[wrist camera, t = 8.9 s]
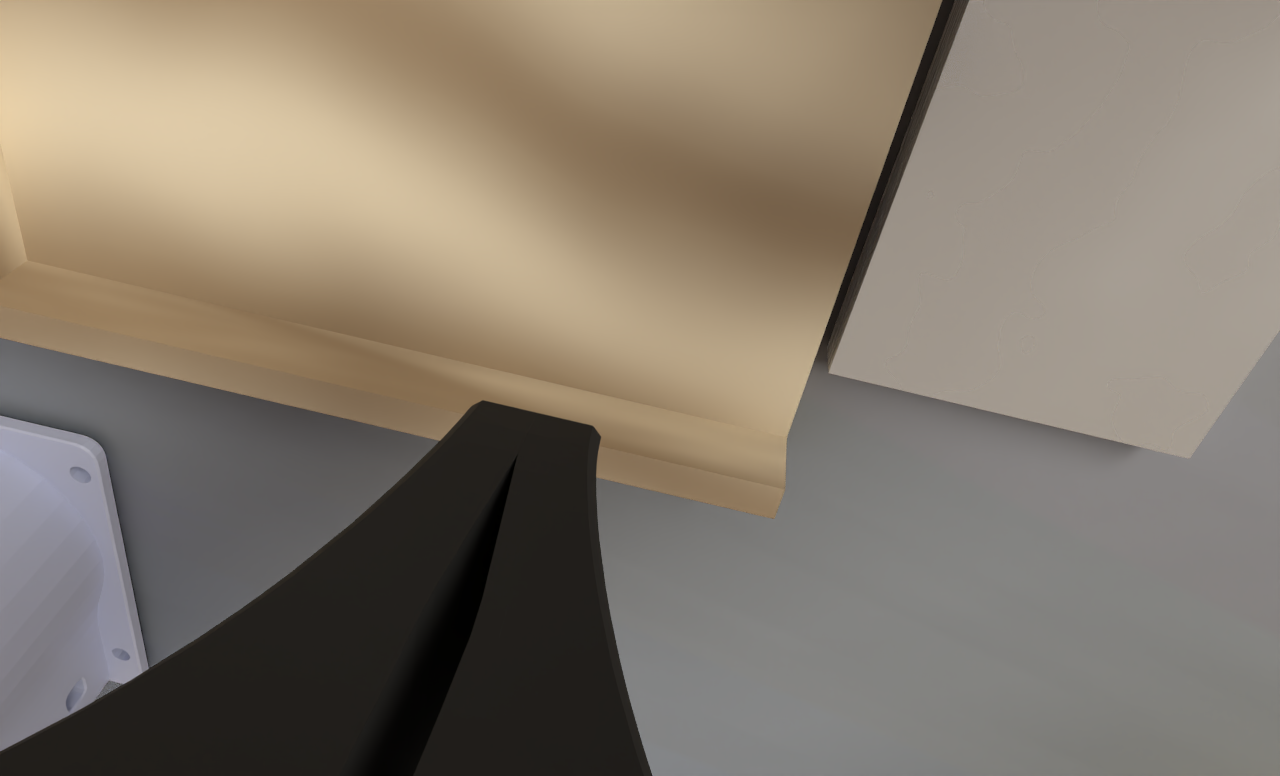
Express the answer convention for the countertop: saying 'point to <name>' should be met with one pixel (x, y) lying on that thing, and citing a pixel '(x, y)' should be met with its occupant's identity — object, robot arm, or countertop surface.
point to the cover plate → (1081, 219)
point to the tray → (458, 207)
